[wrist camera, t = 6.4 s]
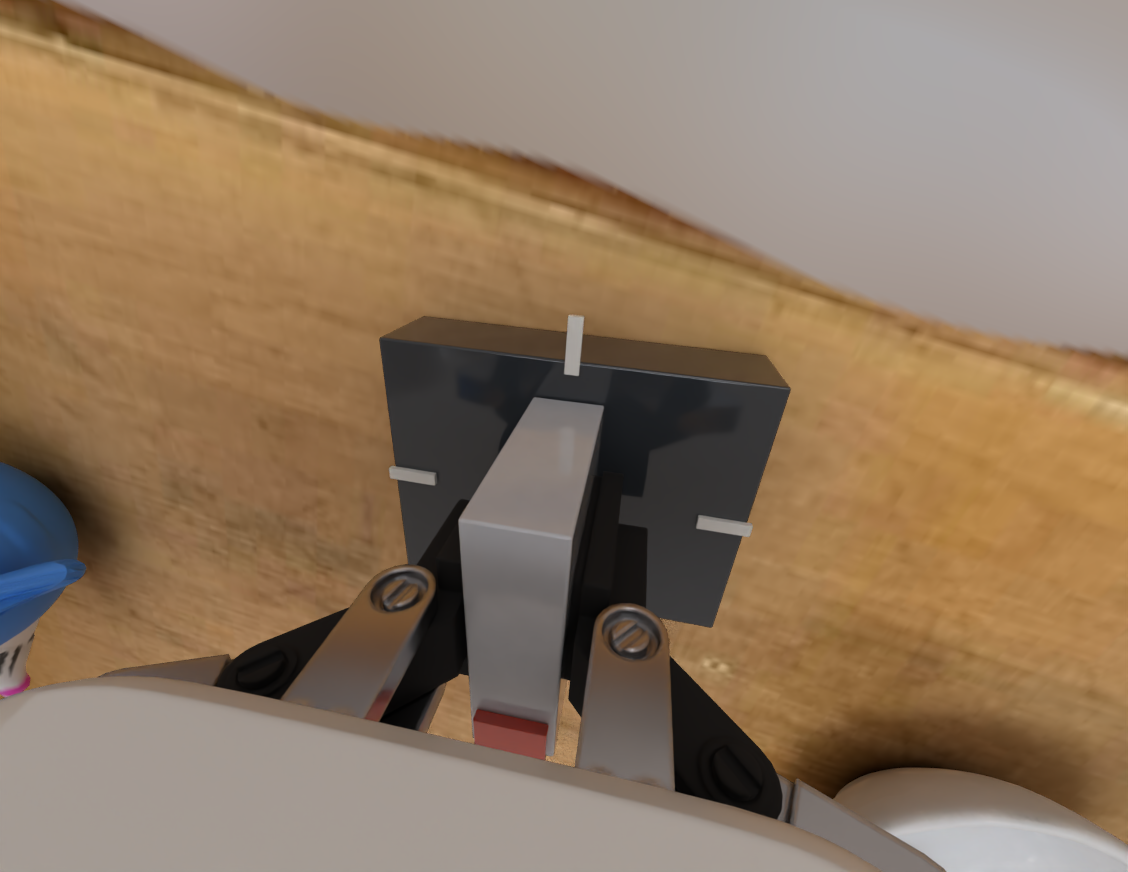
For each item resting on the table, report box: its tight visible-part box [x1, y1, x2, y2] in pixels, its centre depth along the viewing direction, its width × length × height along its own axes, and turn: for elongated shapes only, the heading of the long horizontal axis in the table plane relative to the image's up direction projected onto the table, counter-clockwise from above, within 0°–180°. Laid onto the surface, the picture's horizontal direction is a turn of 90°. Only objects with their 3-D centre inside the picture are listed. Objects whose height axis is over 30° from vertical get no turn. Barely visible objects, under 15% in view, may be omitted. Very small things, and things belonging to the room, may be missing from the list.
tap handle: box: [458, 397, 604, 760], centre depth 10 cm, size 6×2×5 cm, turn 177°
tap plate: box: [379, 314, 791, 628], centre depth 14 cm, size 10×10×3 cm
